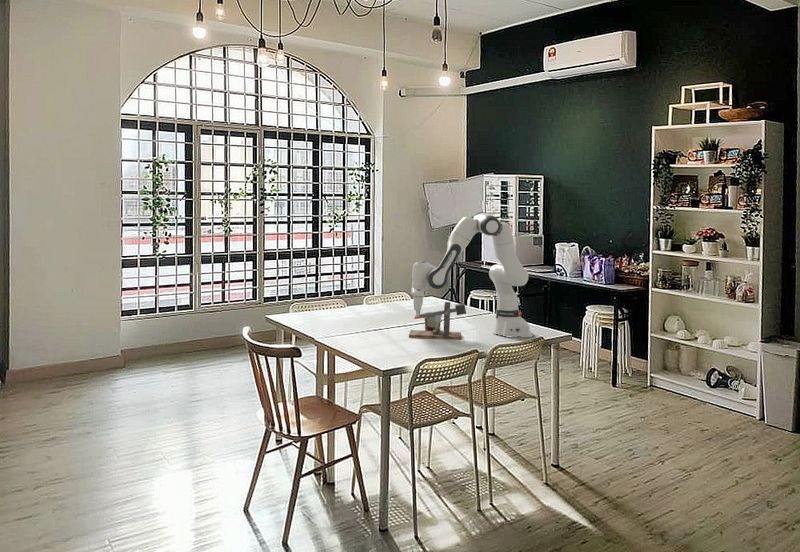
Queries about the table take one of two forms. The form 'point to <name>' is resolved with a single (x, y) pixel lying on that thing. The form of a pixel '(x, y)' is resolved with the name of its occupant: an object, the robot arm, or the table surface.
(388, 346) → the table surface
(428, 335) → the toy catapult
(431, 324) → the food container
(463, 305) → the lever
